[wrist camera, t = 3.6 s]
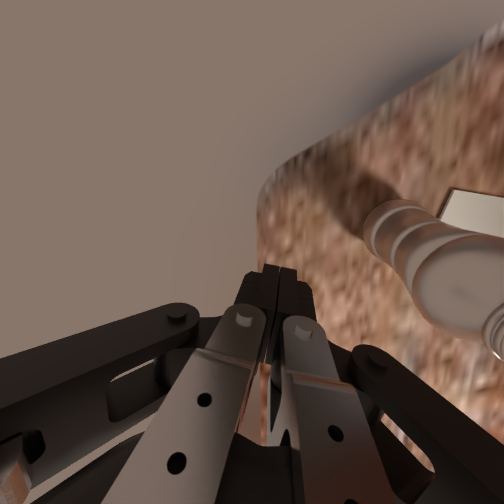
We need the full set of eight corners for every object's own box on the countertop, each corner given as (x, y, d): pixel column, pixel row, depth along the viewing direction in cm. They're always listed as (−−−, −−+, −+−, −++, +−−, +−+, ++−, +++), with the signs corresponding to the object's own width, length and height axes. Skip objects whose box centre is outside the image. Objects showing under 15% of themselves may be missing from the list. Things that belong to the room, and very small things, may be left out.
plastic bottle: (429, 204, 27) (742, 310, 8) (401, 258, 29) (588, 431, 11) (372, 189, 27) (546, 258, 8) (348, 244, 30) (443, 388, 11)
